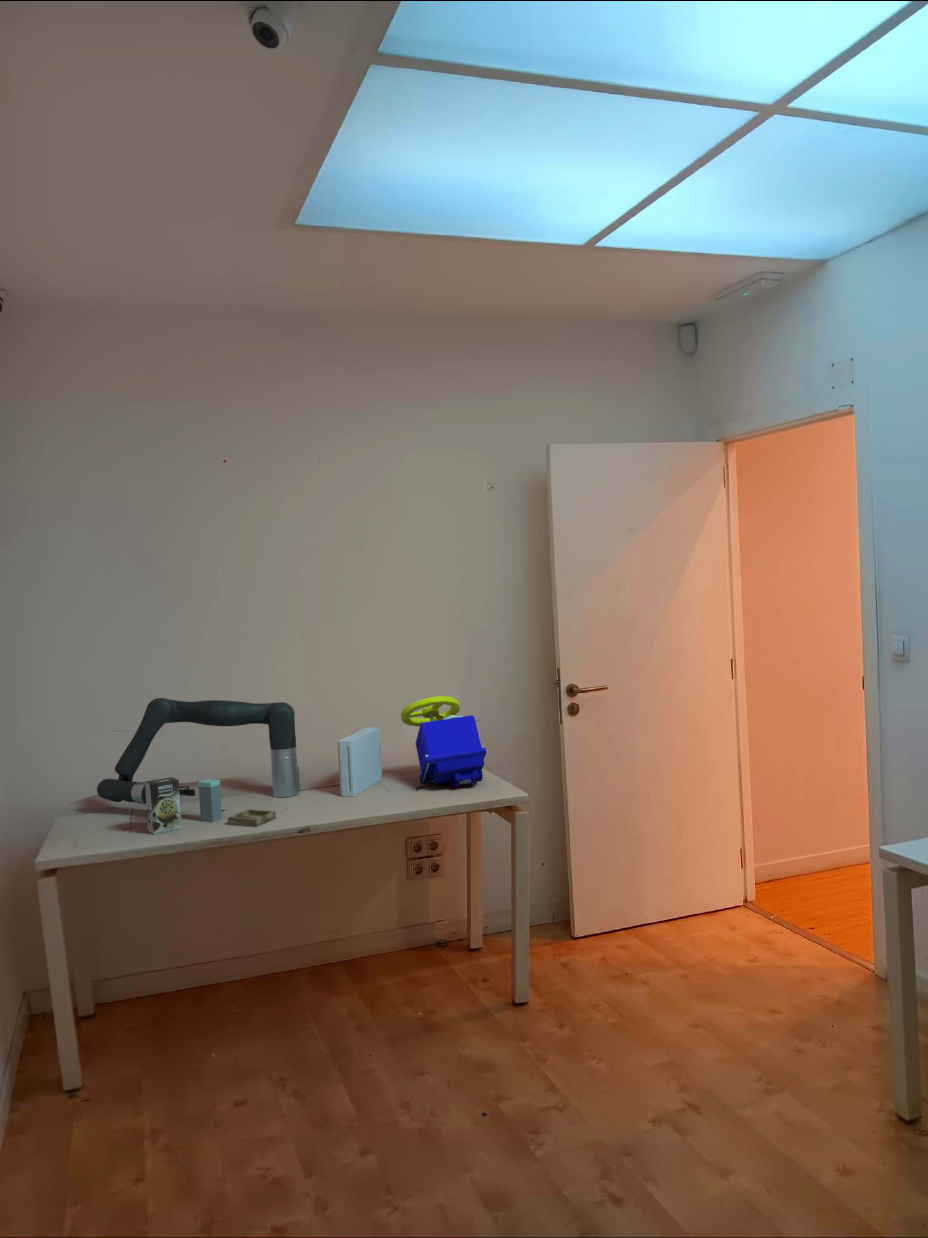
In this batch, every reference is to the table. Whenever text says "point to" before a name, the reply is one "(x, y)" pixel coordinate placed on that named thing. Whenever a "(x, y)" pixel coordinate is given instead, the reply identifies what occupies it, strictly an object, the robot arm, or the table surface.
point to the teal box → (210, 800)
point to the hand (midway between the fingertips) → (185, 795)
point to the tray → (251, 818)
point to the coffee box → (163, 805)
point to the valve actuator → (446, 742)
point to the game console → (359, 761)
